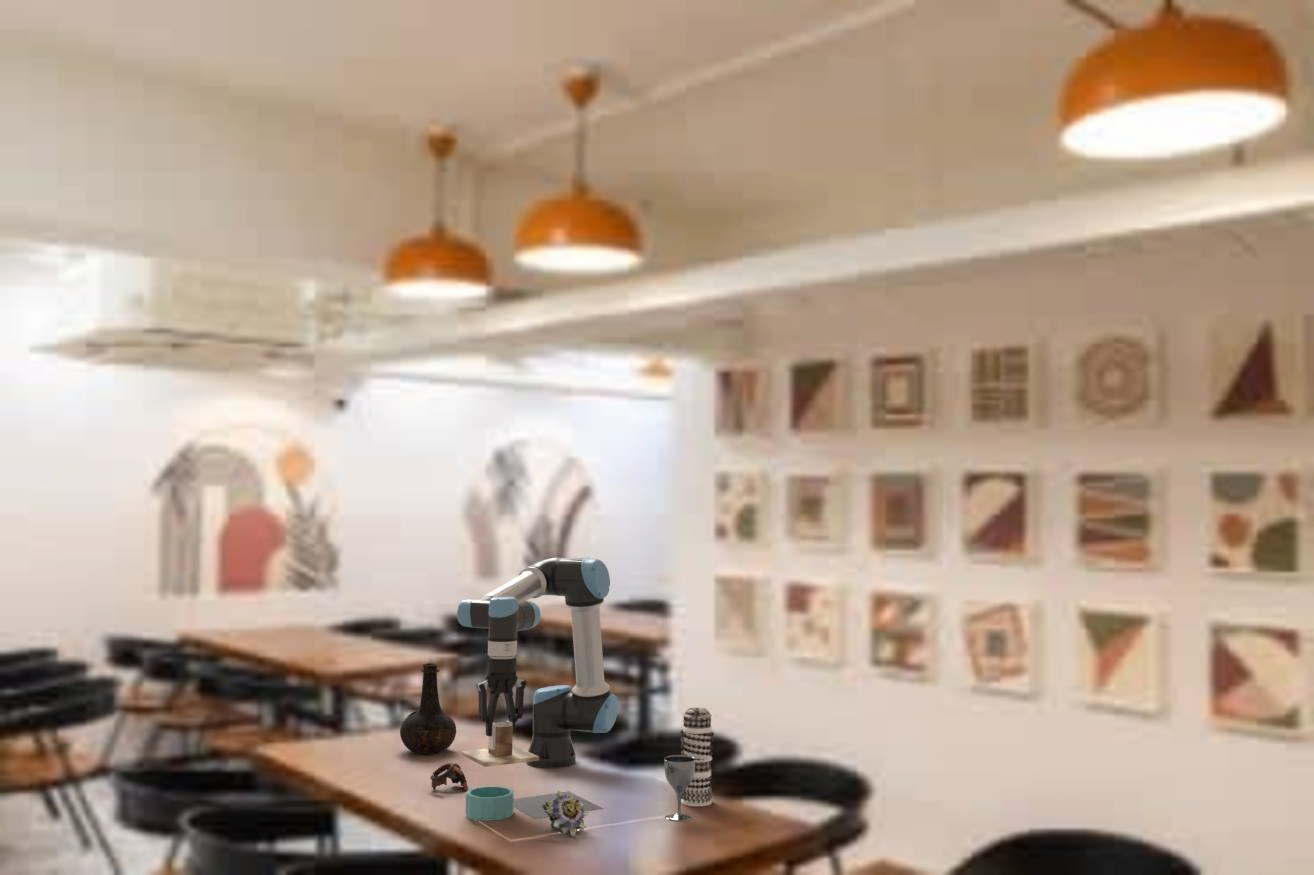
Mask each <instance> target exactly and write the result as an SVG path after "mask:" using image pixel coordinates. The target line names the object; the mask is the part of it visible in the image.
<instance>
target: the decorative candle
mask: <svg viewBox="0 0 1314 875" xmlns="http://www.w3.org/2000/svg"><path fill="white" fill-rule="evenodd" d="M682 716H683V725H682V729H681V731H679V734H680V736H682V737H681V738H680V742H681V744H680V748H681V749H682V750H681V752H680V755H685V756H691V757H694V758H695V771H694V776H693V780H692V782H691V783H690V784H689V786H688V787H687V788H686V789H685V790H684V792H683V794H682V798H681V805H683V806H684V805H685V806H689V807H706V806H710V805H711V804H712V802H713V801H712V797H713V794H712V793H713V789H712V785H713V783H712V780H713V776H712V769H711V761H712V760H713V757H712V755H713V754H714V752H713V751H712V750H713V749H714V746H713V745H712V744H711V743H712V742H714V738H713V737H714V736H715V733H714V732H713V731H712V728H713V726H712V724H711V723H712V717H713V715H712V714H711V713H710V711H709V710H708V709H707V708H705V707H704V708H703V707H690V708H687V709H686V711H685V712H684V713H682Z"/></svg>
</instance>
